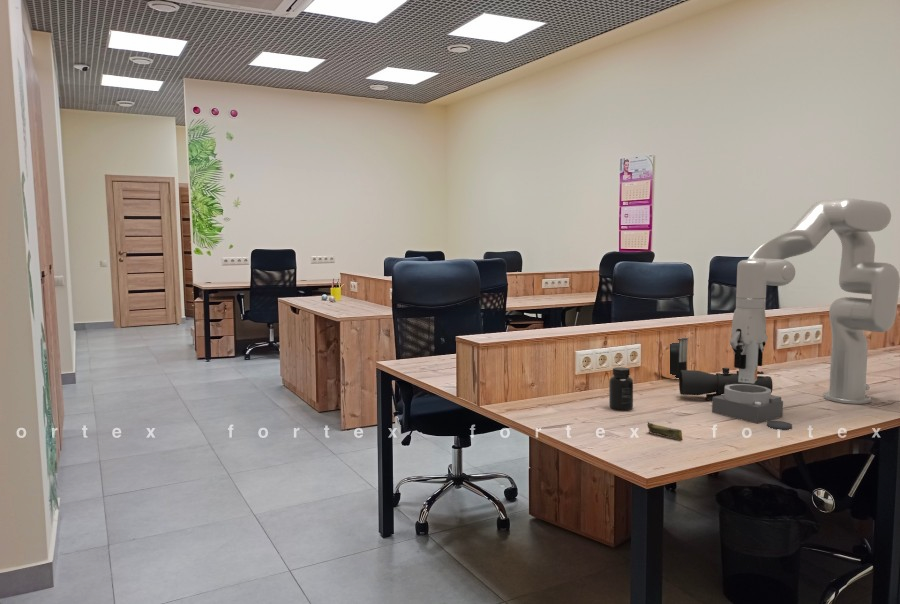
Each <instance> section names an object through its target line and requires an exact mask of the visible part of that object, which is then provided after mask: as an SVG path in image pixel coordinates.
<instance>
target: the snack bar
mask: <svg viewBox="0 0 900 604" xmlns="http://www.w3.org/2000/svg"><path fill="white" fill-rule="evenodd" d="M646 425H647V429H648V432H649V433H650V434H655V435H658V436H659V435H660V436H663V437H668V438H671V439H674V440H677V441H683V431H682V430H681V429H677V428H673V427H668V426H665V425H660V424H654V423H651V422H649V421H647V424H646Z"/></svg>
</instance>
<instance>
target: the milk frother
mask: <svg viewBox="0 0 900 604" xmlns="http://www.w3.org/2000/svg"><path fill="white" fill-rule="evenodd" d="M687 339H688V340H689V337H688V338H682V339H678V340H679V343H672V344H670V374H672V375H676V376H675V377H676V378H679V374H680V370H688V367H687V366H688V362H687V361H688V340H687Z"/></svg>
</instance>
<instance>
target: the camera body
mask: <svg viewBox="0 0 900 604" xmlns="http://www.w3.org/2000/svg"><path fill="white" fill-rule="evenodd" d="M783 412H784V401H783V400H782V396H779V395H774V394H773V395H772V393H771V389H769V388H766V387H763V386H757V385H749V384H731V385H726V386H725V388H724V394H721V395H720V396H715V397H712V401H711V413H712V414H713V413H714V414H716V415H717V414H718V415H720V416H725V417H730V418H734V419H737V418H738V420H741V419H742V420H741V421H745V422H749V423H753V424H760V423H761V424H762V423H764V422H768V421H773V420H775V419H779V418H783Z"/></svg>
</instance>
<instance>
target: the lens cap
mask: <svg viewBox="0 0 900 604" xmlns="http://www.w3.org/2000/svg"><path fill="white" fill-rule="evenodd" d="M767 426H768V427H767ZM766 427H767V428H769V427H770V428H769V429H772V428H773V429H772V430H777V429H782V430H781V431H790V430H789V429H791V430H792V429H793V424H792V423H791V422H788V421H783V420H769V421H766Z"/></svg>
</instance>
